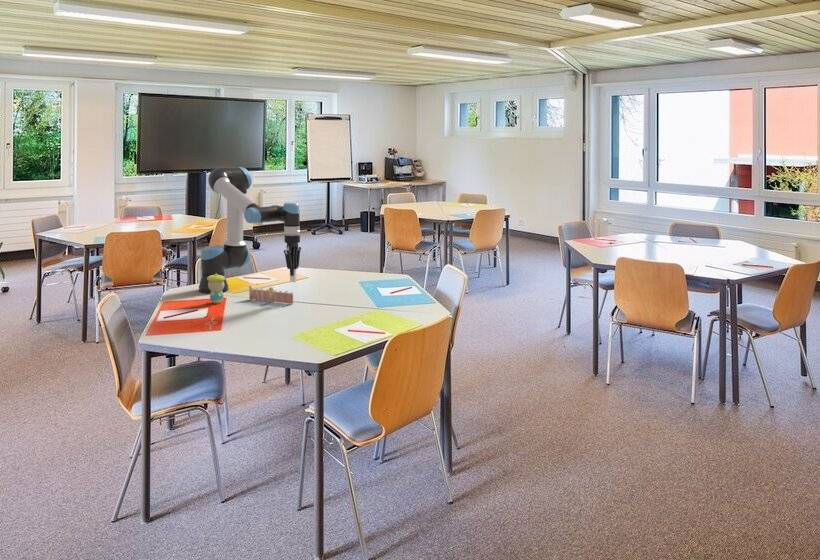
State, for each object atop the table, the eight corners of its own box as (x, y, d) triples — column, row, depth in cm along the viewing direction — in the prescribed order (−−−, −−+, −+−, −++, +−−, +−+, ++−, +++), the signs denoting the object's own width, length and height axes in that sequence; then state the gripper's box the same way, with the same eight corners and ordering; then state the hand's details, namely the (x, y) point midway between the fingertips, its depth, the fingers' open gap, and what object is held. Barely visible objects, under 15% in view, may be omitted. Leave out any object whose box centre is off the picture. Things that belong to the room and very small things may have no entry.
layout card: (242, 305, 324) (242, 304, 324) (258, 299, 337) (258, 298, 337) (277, 309, 318) (277, 308, 317) (292, 303, 330) (292, 302, 330)
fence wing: (273, 301, 329) (273, 289, 328) (275, 301, 330) (274, 289, 329) (292, 303, 326) (292, 291, 325) (293, 303, 327) (293, 291, 326)
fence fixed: (275, 302, 331) (274, 287, 330) (272, 303, 329) (272, 288, 328) (251, 299, 336) (250, 284, 335) (248, 300, 334) (247, 285, 332)
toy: (217, 300, 332) (215, 271, 329) (229, 303, 327) (228, 273, 324) (204, 303, 326) (202, 273, 323) (216, 306, 321) (215, 275, 318)
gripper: (292, 236, 318) (293, 284, 323) (305, 233, 330) (306, 280, 335) (278, 235, 321) (279, 283, 325) (292, 232, 333) (293, 278, 337)
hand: (293, 281), depth 330 cm, fingers closed
